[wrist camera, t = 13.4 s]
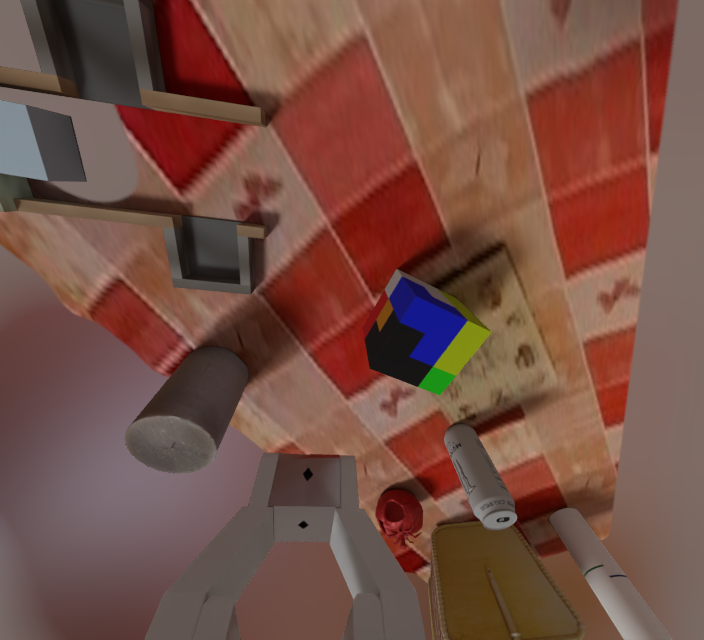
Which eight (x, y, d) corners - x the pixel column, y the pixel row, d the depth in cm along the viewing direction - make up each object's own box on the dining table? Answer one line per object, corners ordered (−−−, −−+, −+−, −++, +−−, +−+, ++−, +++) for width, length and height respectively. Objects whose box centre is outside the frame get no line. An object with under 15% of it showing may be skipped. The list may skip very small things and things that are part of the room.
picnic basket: (504, 566, 78) (591, 766, 51) (416, 576, 78) (456, 780, 51) (523, 510, 65) (654, 739, 38) (417, 521, 65) (472, 758, 38)
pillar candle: (186, 390, 44) (121, 481, 30) (183, 340, 39) (107, 420, 26) (248, 398, 45) (212, 488, 32) (251, 350, 41) (212, 431, 28)
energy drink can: (442, 423, 50) (481, 511, 37) (474, 420, 50) (525, 506, 36) (441, 445, 53) (476, 534, 39) (472, 441, 53) (518, 529, 39)
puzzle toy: (396, 268, 36) (415, 295, 27) (456, 297, 39) (491, 332, 30) (362, 327, 40) (369, 368, 31) (418, 351, 42) (440, 395, 33)
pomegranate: (426, 490, 60) (441, 539, 51) (399, 513, 63) (410, 563, 55) (390, 478, 57) (400, 528, 48) (364, 503, 60) (370, 554, 52)
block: (4, 103, 27) (-54, 89, 23) (71, 116, 27) (25, 104, 23) (27, 171, 29) (-23, 169, 25) (87, 181, 30) (48, 181, 26)
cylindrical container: (575, 521, 68) (690, 685, 46) (546, 525, 68) (648, 690, 46) (581, 505, 65) (708, 673, 43) (551, 510, 65) (662, 679, 43)
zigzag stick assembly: (-73, -47, 22) (-140, -85, 19) (264, 17, 25) (253, -7, 22) (50, 268, 34) (21, 277, 31) (268, 289, 37) (262, 299, 33)
